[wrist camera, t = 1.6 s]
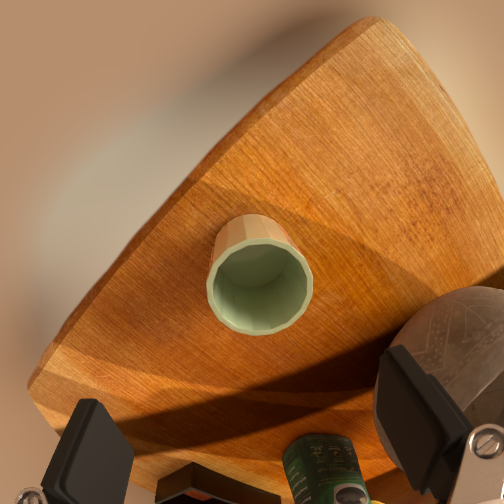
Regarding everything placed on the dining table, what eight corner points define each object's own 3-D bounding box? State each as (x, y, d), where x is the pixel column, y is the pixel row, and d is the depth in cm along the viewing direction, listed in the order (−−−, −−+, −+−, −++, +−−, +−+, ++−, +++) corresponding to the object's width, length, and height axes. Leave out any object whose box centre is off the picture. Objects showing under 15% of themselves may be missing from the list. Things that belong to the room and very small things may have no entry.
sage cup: (216, 290, 28) (212, 338, 21) (209, 216, 26) (201, 242, 19) (290, 285, 29) (311, 330, 21) (289, 211, 27) (313, 235, 19)
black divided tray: (157, 480, 38) (154, 502, 33) (193, 461, 36) (191, 486, 32) (242, 512, 42) (243, 531, 38) (280, 495, 41) (283, 516, 36)
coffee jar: (273, 460, 37) (291, 573, 19) (298, 427, 35) (330, 554, 17) (331, 464, 39) (361, 563, 21) (359, 433, 37) (403, 540, 19)
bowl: (500, 326, 34) (564, 381, 19) (398, 425, 37) (438, 500, 23) (451, 224, 28) (559, 274, 14) (312, 360, 32) (355, 474, 17)
